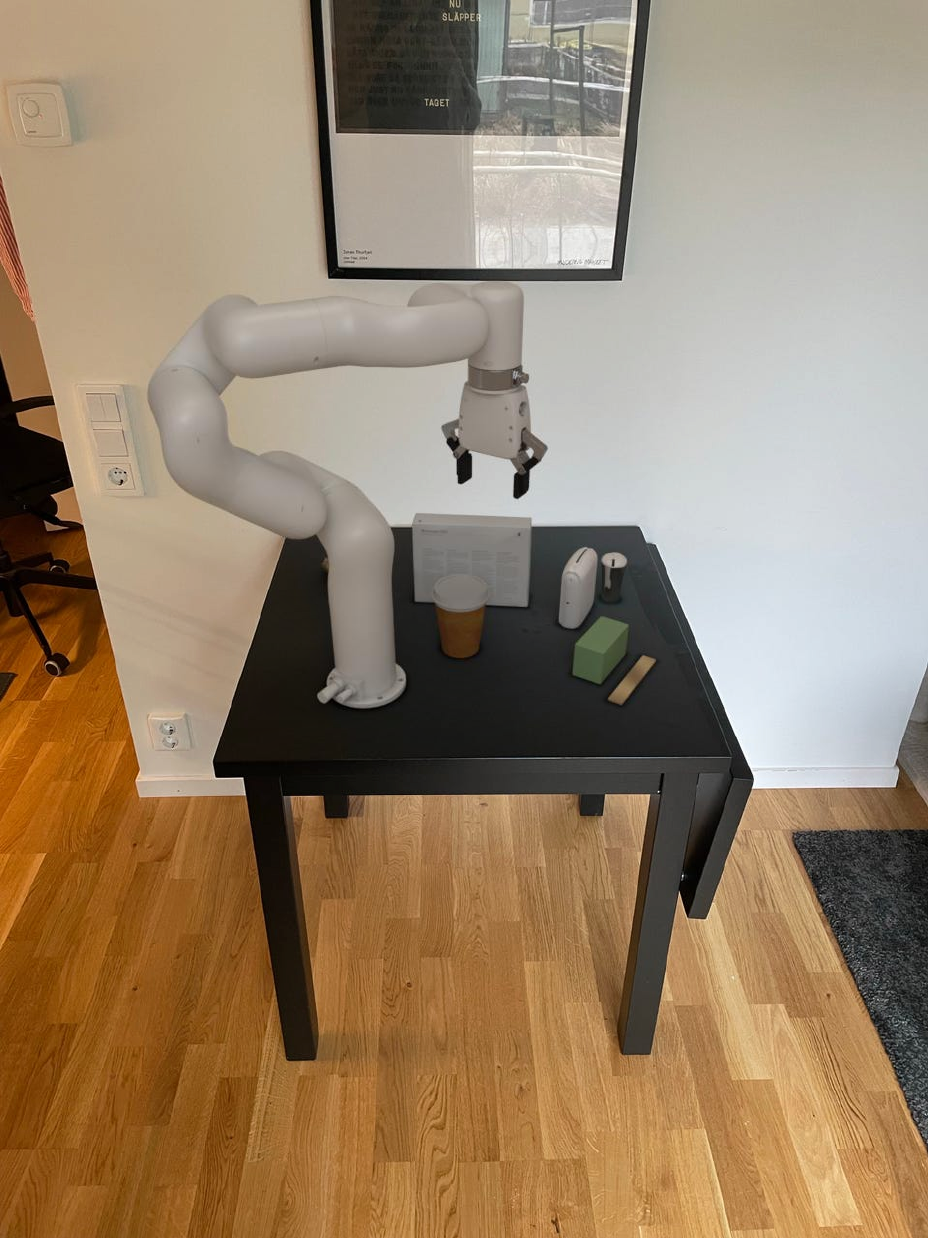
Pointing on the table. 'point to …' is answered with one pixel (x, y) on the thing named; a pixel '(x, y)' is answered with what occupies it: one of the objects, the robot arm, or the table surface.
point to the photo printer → (578, 587)
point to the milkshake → (612, 576)
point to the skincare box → (473, 554)
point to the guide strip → (632, 680)
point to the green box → (600, 649)
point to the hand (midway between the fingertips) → (492, 488)
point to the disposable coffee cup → (460, 613)
